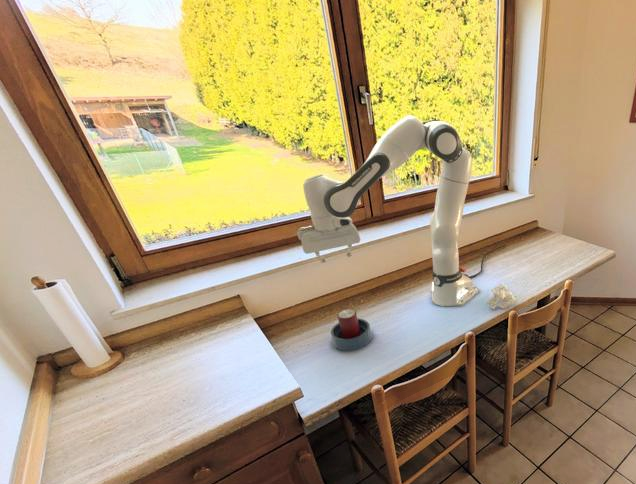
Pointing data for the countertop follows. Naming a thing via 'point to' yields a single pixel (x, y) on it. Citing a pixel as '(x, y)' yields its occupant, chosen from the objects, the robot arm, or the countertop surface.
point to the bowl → (353, 342)
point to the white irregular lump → (501, 298)
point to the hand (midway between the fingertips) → (336, 259)
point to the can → (349, 324)
